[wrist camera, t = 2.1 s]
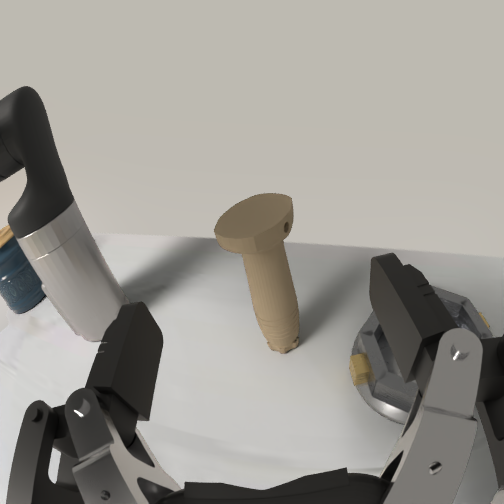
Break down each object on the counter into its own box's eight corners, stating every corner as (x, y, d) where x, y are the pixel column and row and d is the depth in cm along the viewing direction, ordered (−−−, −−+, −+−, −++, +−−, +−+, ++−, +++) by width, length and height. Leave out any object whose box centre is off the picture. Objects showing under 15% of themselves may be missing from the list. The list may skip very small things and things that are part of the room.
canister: (41, 308, 43) (-7, 231, 33) (5, 320, 42) (-39, 253, 32) (61, 269, 54) (24, 201, 44) (25, 283, 53) (-10, 222, 43)
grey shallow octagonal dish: (369, 448, 17) (376, 437, 15) (334, 323, 29) (333, 299, 27) (505, 387, 16) (522, 367, 14) (448, 291, 28) (454, 267, 26)
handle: (318, 326, 29) (303, 195, 21) (290, 374, 25) (259, 243, 17) (278, 314, 32) (250, 191, 24) (248, 358, 28) (200, 233, 20)
